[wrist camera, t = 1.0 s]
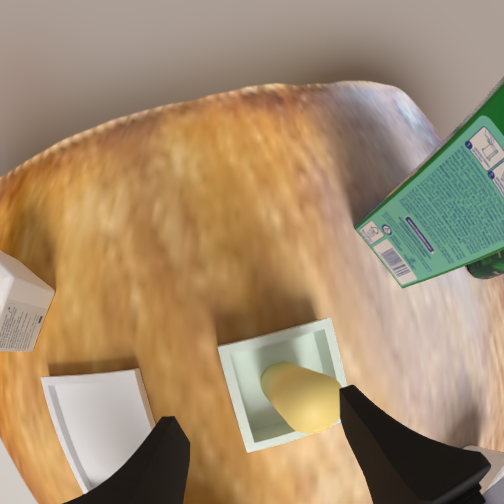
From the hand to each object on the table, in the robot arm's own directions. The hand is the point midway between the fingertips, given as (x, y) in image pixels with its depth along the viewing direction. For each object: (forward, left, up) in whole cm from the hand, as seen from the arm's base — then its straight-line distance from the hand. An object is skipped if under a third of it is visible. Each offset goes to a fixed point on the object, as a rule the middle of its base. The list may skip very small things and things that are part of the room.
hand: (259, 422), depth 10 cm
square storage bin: (-2, -4, -14) cm, 14 cm away
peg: (-2, -4, -13) cm, 14 cm away
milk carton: (+9, -22, -14) cm, 27 cm away
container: (+10, +22, -14) cm, 28 cm away
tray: (-5, +14, -14) cm, 20 cm away
